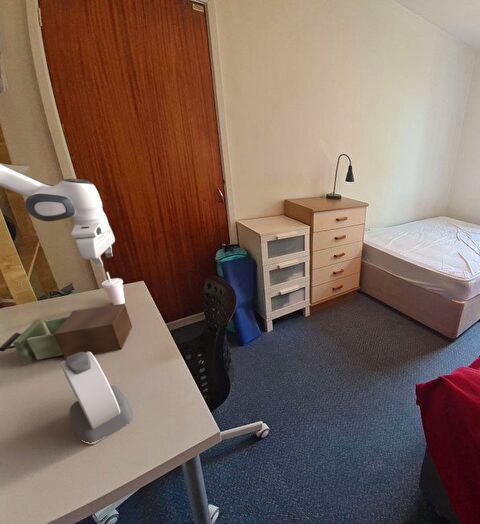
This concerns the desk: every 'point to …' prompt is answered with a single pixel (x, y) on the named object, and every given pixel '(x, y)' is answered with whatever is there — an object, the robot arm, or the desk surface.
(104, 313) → the cabinet
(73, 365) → the headphone stand
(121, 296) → the smoothie
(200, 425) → the desk surface
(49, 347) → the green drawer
